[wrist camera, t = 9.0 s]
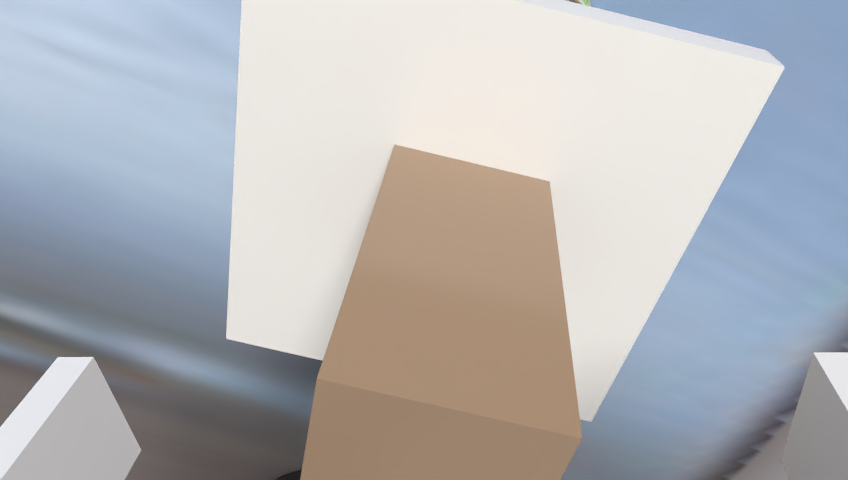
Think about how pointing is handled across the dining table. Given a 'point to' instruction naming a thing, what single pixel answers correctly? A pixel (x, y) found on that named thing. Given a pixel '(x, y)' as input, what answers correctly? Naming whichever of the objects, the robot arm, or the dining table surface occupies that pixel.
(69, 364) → the robot arm
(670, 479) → the dining table surface
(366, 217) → the square plate with block
